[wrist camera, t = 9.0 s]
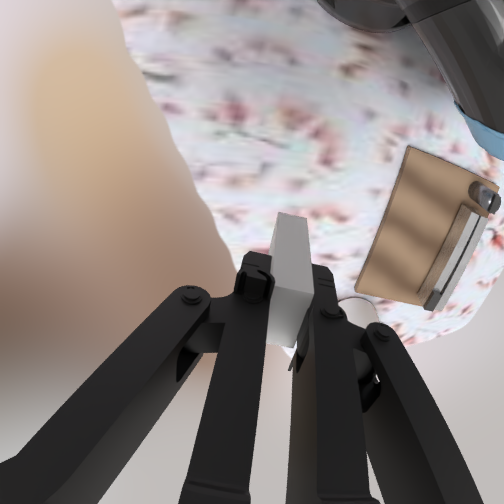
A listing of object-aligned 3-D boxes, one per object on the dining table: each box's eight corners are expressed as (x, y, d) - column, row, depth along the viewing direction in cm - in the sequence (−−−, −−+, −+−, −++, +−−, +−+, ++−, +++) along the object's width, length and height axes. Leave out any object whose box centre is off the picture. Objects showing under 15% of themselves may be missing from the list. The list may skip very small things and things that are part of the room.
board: (407, 145, 36) (411, 147, 35) (495, 184, 36) (499, 187, 35) (354, 287, 47) (355, 292, 46) (438, 305, 47) (440, 310, 46)
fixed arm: (472, 178, 35) (492, 191, 30) (487, 185, 35) (507, 198, 30) (419, 294, 45) (430, 316, 40) (434, 298, 45) (446, 319, 40)
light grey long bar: (461, 203, 37) (474, 214, 33) (469, 207, 37) (482, 218, 34) (416, 294, 44) (424, 310, 41) (424, 296, 44) (432, 312, 41)
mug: (401, 317, 49) (417, 362, 40) (370, 348, 52) (379, 394, 43) (346, 287, 47) (357, 334, 38) (315, 323, 51) (318, 371, 42)
